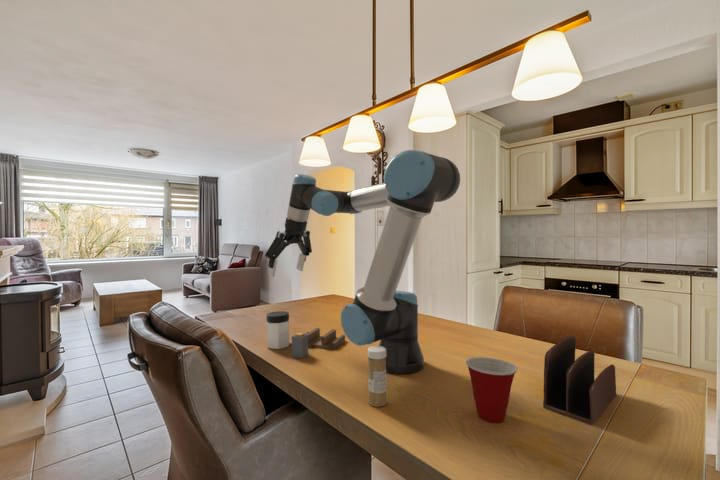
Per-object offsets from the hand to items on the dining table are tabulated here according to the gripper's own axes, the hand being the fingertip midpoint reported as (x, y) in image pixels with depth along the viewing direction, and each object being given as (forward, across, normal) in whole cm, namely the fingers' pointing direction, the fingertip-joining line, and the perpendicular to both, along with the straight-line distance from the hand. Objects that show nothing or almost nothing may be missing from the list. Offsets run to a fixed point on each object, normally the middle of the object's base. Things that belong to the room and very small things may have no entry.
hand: (285, 272), depth 126 cm
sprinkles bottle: (+6, +18, +58) cm, 61 cm away
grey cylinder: (+21, +6, +21) cm, 30 cm away
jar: (+26, +4, +8) cm, 28 cm away
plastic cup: (-3, +8, +80) cm, 81 cm away
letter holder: (-7, -11, +95) cm, 96 cm away
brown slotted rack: (+22, -7, +18) cm, 30 cm away
